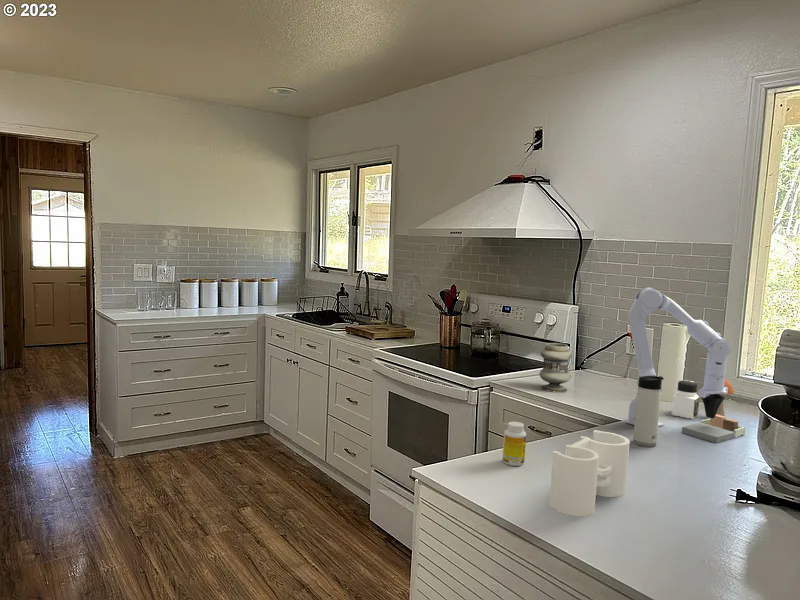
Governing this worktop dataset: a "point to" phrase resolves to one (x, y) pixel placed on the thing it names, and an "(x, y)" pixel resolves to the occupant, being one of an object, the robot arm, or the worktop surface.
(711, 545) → the worktop surface
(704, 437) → the slate board
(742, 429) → the sage tray
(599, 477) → the bracket
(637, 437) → the travel mug
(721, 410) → the mushroom
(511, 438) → the supplement bottle
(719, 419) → the terracotta tile
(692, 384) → the medicine bottle
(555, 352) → the apothecary jar
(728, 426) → the walnut tile
